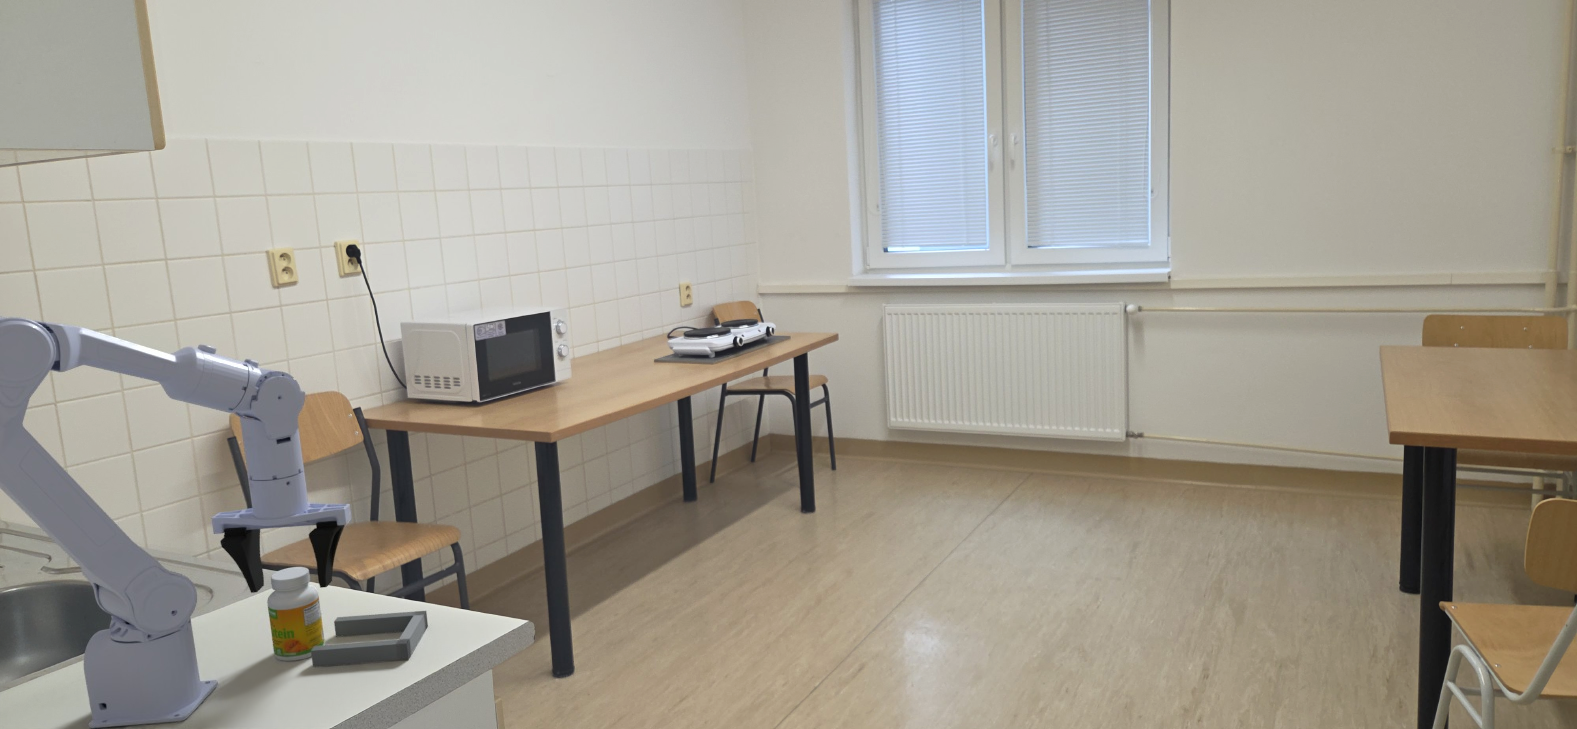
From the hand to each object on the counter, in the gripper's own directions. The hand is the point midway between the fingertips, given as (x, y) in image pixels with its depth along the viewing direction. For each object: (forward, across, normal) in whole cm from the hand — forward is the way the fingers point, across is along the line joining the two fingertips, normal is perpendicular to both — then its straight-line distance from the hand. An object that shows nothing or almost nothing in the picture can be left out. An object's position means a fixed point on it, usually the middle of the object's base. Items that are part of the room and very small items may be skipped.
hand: (291, 586), depth 119 cm
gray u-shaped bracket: (+8, -9, 0) cm, 12 cm away
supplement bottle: (+8, 0, 0) cm, 8 cm away
